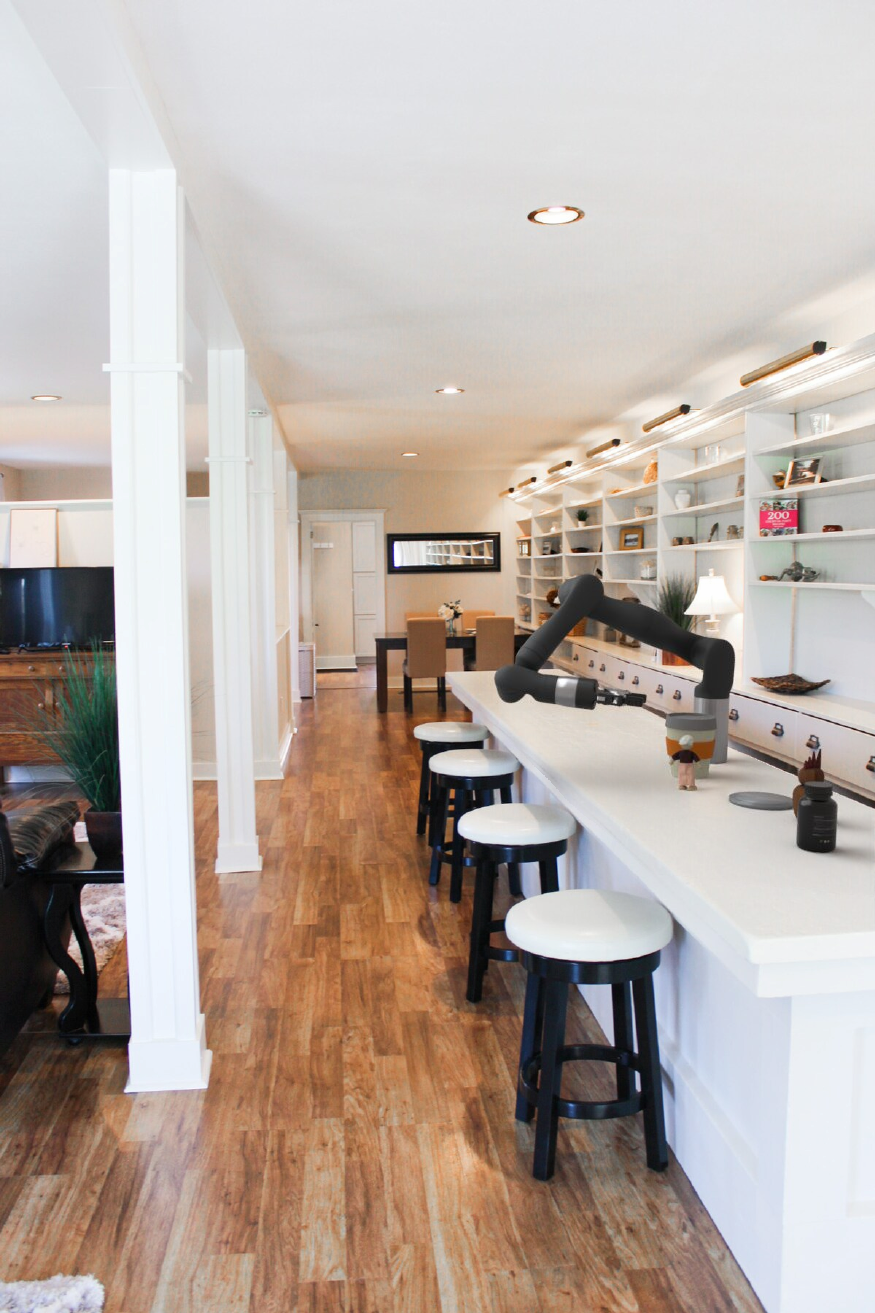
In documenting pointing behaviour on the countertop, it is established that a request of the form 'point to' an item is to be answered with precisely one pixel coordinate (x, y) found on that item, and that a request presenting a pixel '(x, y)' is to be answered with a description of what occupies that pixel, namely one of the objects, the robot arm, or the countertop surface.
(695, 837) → the countertop surface
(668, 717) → the reusable coffee cup
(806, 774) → the wooden figurine
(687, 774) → the grandmother figurine
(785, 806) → the slate coaster
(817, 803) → the supplement bottle
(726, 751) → the robot arm
